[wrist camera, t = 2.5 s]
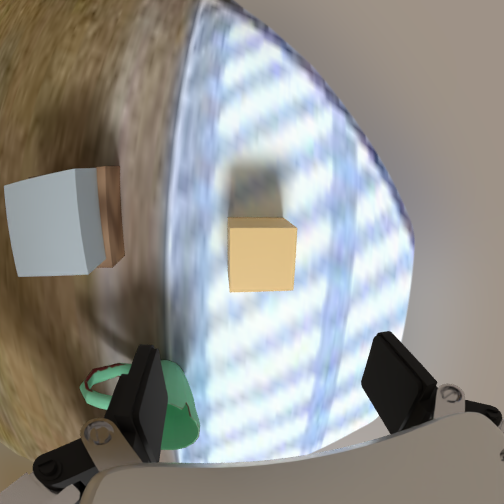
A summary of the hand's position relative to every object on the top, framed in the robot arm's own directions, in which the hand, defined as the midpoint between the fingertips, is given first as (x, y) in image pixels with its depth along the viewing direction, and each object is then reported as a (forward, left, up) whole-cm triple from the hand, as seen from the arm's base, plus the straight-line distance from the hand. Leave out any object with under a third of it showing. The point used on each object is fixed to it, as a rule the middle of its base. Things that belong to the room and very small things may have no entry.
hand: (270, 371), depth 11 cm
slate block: (+4, +18, -17) cm, 25 cm away
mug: (-17, +12, -21) cm, 30 cm away
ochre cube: (0, -2, -21) cm, 21 cm away
